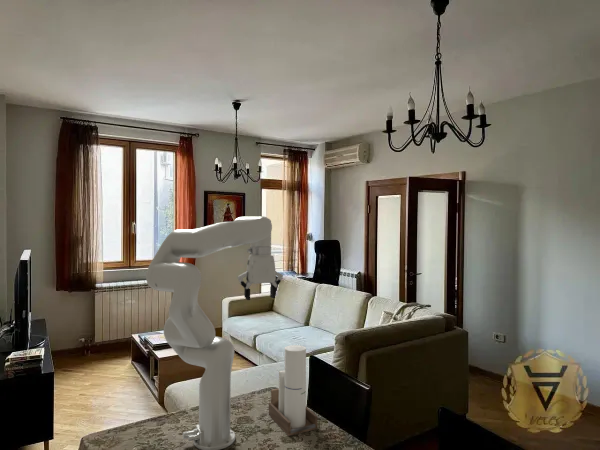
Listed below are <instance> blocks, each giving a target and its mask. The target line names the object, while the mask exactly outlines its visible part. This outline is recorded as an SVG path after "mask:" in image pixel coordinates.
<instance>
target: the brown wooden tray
mask: <svg viewBox="0 0 600 450" xmlns="http://www.w3.org/2000/svg"><path fill="white" fill-rule="evenodd" d="M268 416H269V417H270V418H271V419H272V420H273V421H274V423H276V425H278V427H279V428H280V429H281V430H282V431H283V432H284V433H285V434H286V436H288V437H290V436H295V435H298V434H302V433H306V432H310V431H311V432H312V431H314V430H318V426H319V425H318V423H319V422H318V421H319V420H318V417H319V416H318V415H317V414H315V413H314V412H313V411H312V410H311V409H310V408H308V407H307V406H306V424H305V426H303V427H300V428H291V422H290V421H289V420H288V419H287V418H286V417H285V416H284V415H283V414H282V413H281V412H280V411H279V387H278V388H273V389H270V402H269V403H268Z"/></svg>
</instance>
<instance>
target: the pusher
mask: <svg viewBox="0 0 600 450" xmlns="http://www.w3.org/2000/svg"><path fill="white" fill-rule="evenodd" d="M278 388H279V411H280V412H281V413H282V414H283V415H284V389H285V369H283V370H278Z"/></svg>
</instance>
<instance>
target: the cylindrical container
mask: <svg viewBox="0 0 600 450" xmlns="http://www.w3.org/2000/svg"><path fill="white" fill-rule="evenodd" d="M284 370H285V389H284V416H285V417H286V418H287V419H288V420H289V421H290V422H291V428H300V427H303V426H305V424H306V407H307V406H306V405H307V404H306V403H307V399H306V397H307V395H306V394H307V392H306V391H307V347H306V346H303V345H299V344H295V345H294V344H292V345H287V346H285V347H284Z"/></svg>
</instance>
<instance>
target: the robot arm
mask: <svg viewBox="0 0 600 450" xmlns="http://www.w3.org/2000/svg"><path fill="white" fill-rule="evenodd" d="M272 231H273V224H272V220H271V219H270V218H269V217H267V216H262V215H261V216H259V215H257V216H254V215H253V216H239V217H237V218H235V219H234V220H233V221H221V222H217V223H213V224H210V225H209V224H208V225H206V226H203V227H198V228H193V229H189V228H188V229H174V230H172V231H171V232H169V234H168V235H167V236H166V238H165V239H164V240H163V242H162V244H161V245H160V247H159V248H158V250H157V251H156V253H155V255H154V257H152V260H151V262H150V264H149V265H148V267H147V271H146V275H145V281H146V283H147V285H148V286H149V288H151V289H153V290H155V291H158V292H165V293H166V292H168V293H173V294H172V297H171V300H170V304H169V306H168V318H167V319H166V320H165V323H164V325H163V336H164V339H165V341H166V343H167V345H169V346H170V347H171V348H172V350H173V351H174V352H175V353H176V354H177V355H178V357H179V358H181V360H182V361H183V362H185V363H186V364H189V365H193V366H197V367H202V368H204V369H205V370H204V373H203V374H202V376H201V377H200V381H199V386H198V424H196V425H195V426H196V427H195V428H193V429H192V430H185V431H183V432H182V439H183V440H185V439H186V440H187V439H188V441H189V442H190V441H193V445H194V446H195V447H196V448H197V449H199V450H222V449H226V448H228V447H230V446H231V445H233V444H234V442H235V440H236V433H235V432H234V430H232V429H231V394H232V393H231V385H232V383H231V381H232V380H231V379H232V370H233V369H232V367H233V363H234V358H235V347H234V344H233V343H232V342H231V340H228V339H227V338H224V337H222V336H221V337H220V336H216V329H215V326H214V324H213V323H212V321H211V320H210V319H209V317H208V315H207V314H206V312H204V310H203V309H202V307H201V306H200V303H199V300H198V298H199V292H200V288H201V283H202V274H201V271H200V269H199V268H198V267H197V265H194V264H192V263H191V262H190V263H189V262H184V261H183V262H182V261H181V262H180V260H181V258H187V259H189V258H190V259H199V258H203V257H206V256H209V255H211V254H214V253H217V252H220V251H223V250H226V249H231V248H235V247H236V248H237V247H240V246H245V245H248V244H250V247H249V248H246V253H249V254H250V255H248V258H247V261H246V263H247V264H246V271H245V272H243V273H241V274H239V275H238V276H237V280H238V282H239V284H240V285H241V286H242V288H243V290H244V295H243V296H244V298H245V300H247V301H250V300H251V288H250V287H251V286H252V285H253V284H254V285H257V284H270V290H269V291H270V295H269V296H270V298H271V299H275V298H276V296H277V288H278V285H280V284H281V281H282V280H283V277H284V275H283V274H282V273H280V272H278V271H276V264H275V263H276V262H275V258H274V255H273V254H272ZM244 278H246V279H245V280H246V282H245V281H244Z"/></svg>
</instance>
